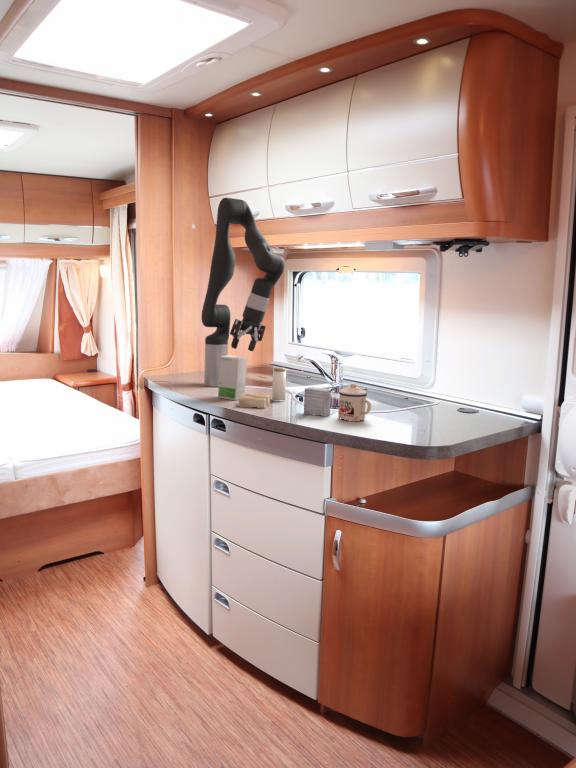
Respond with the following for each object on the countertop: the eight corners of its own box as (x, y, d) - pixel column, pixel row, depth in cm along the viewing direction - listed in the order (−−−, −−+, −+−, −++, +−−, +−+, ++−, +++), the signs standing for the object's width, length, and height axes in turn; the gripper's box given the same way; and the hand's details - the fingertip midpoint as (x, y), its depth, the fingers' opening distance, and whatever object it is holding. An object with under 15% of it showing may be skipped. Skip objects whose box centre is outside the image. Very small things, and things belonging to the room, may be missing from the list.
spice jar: (273, 398, 230) (274, 366, 228) (285, 399, 229) (287, 367, 227) (270, 400, 225) (272, 368, 224) (283, 401, 225) (284, 369, 223)
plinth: (245, 402, 221) (245, 393, 220) (269, 403, 219) (270, 395, 219) (238, 406, 212) (239, 397, 212) (264, 408, 211) (264, 399, 210)
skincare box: (217, 398, 226) (218, 356, 224) (227, 395, 232) (228, 354, 230) (236, 400, 222) (238, 358, 220) (246, 398, 228) (247, 356, 226)
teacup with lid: (331, 418, 200) (333, 382, 198) (349, 414, 206) (351, 380, 204) (360, 425, 191) (362, 388, 190) (378, 421, 198) (380, 385, 196)
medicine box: (330, 415, 205) (331, 389, 204) (324, 417, 201) (325, 391, 200) (309, 411, 209) (310, 386, 207) (303, 413, 205) (304, 388, 204)
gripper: (262, 307, 229) (249, 348, 232) (235, 300, 218) (221, 343, 221) (276, 313, 224) (262, 355, 227) (248, 307, 213) (234, 350, 217)
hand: (241, 349), depth 224 cm, fingers open, 8 cm apart
